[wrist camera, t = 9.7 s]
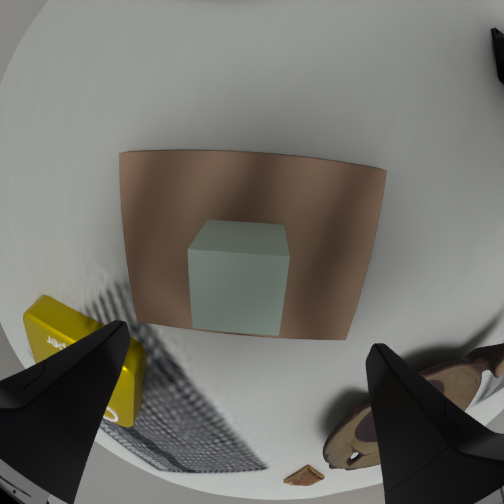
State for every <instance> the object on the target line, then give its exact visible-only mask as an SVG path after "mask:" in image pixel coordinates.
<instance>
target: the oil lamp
mask: <svg viewBox="0 0 504 504" xmlns="http://www.w3.org/2000/svg"><path fill="white" fill-rule="evenodd" d="M485 370H490V371H491V372H492V373H493V375H494V376H495V377H496V378H499V377H500V376H501V375H502V373H503V372H504V343H502V344H498V345H492V346H485V347H480V348H477V349H474V350H472V351H471V352H470V353H468V354H467V355H466V357H465V358H464V359H463V360H452V361H447V362H443V363H440V364H437V365H435V366H432V367H430V368H427V369H425V370H423V371H421V372H418V373H420V374H421V375H422V376H423V377H424V378H425V379H426V380H428V381H429V382H430V383H431V384H432V385H433V386H435V387H436V388H437V389H438V390H439V391H440V392H441V393H443V394H444V395H445V396H446V397H447V398H448V399H450V400H451V401H452V402H453V403H454V404H455V405H457V406H458V407H459V408H460V409H462V410H463V411H465V410H466V408H467V407H468V406H469V404H470V403H471V401H472V400H473V398H474V397H475V395H476V393H477V391H478V389H479V387H480V384H481V380H482V372H483V371H485ZM354 452H358V453H359V454H358V455H357V456H356V457H355V458H353V459H351V456H352V454H353V453H354ZM323 457H324V459H325V461H326V462H327V463H329V468H331V469H336V468H340V469H346V470H355V469H359V468H365V467H371V466H375V465H379V464H381V462H380V455H379V449H378V443H377V437H376V431H375V426H374V421H373V416H372V411H371V406H370V402H369V403H367V404H363V405H361V406H360V407H358V408H356V409H355V410H353V411H352V412H351V413H350V414H349V415H347V416H346V417H345V418H344V419H343V420H342V421H341V422H340V423H339V424H338V425H337V426H336V428H335V429H334V430H333V431H332V433H331V434H330V435H329V437H328V438H327V440H326V442H325V444H324V447H323Z"/></svg>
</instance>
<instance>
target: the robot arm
mask: <svg viewBox="0 0 504 504" xmlns="http://www.w3.org/2000/svg"><path fill="white" fill-rule="evenodd" d="M492 34H493V40H494V45H495V51H496V58H497V66H498V76H499V79H500V81H501V82H502V83H503V84H504V34H503V33H502V32H500V31H499V30H498V29H496V28H492ZM130 342H131V338H130V334H129V330H128V326H127V323H126V322H125V321H121V320H114V321H112V322H111V323H109V324H107V325H105V326H103V327H102V328H100V329H98V330H96V331H94V332H93V333H91V334H89V335H87V336H85V337H84V338H82V339H80V340H78V341H76V342H75V343H73V344H71V345H69V346H67V347H66V348H64V349H62V350H60V351H58V352H57V353H55V354H53V355H51V356H49V357H48V358H46V359H44V360H42V361H40V362H39V363H37V364H35V365H33V366H31V367H29V368H27V369H25V370H23V371H21V372H19V373H17V374H14V375H12V376H10V377H8V378H5V379H3V380H1V381H0V504H49V502H48V498H49V495H50V494H52V495H53V496H55V497H57V498H59V499H60V500H62V501H64V502H66V503H68V504H74V500H75V497H76V494H77V490H78V487H79V484H80V481H81V477H82V474H83V471H84V468H85V465H86V464H85V463H86V462H87V459H88V456H89V453H90V450H91V448H92V445H93V442H94V439H95V437H96V434H97V431H98V429H99V426H100V423H101V421H102V418H103V416H104V413H105V411H106V408H107V406H108V403H109V401H110V399H111V396H112V394H113V391H114V389H115V387H116V384H117V382H118V380H119V377H120V374H121V371H122V368H123V365H124V362H125V359H126V355H127V352H128V349H129V346H130ZM366 373H367V382H368V392H369V400H370V406H371V411H372V416H373V421H374V426H375V431H376V437H377V443H378V449H379V455H380V462H381V469H382V477H383V485H384V492H385V494H384V495H385V504H504V434H499V433H495V432H493V431H491V430H489V429H488V428H486V427H485V426H483V425H482V424H481V423H479V422H478V421H476V420H475V419H474V418H472V417H471V416H470V415H468V414H467V413H466V412H464V411H463V410H462V409H460V408H459V407H458V406H457V405H455V404H454V403H453V402H452V401H451V400H450V399H448V398H447V397H446V396H445V395H444V394H443V393H441V392H440V391H439V390H438V389H437V388H436V387H435V386H433V385H432V384H431V383H430V382H429V381H428V380H426V379H425V378H424V377H423V376H422V375H421V374H420V373H418V372H417V371H416V370H415V369H414V368H413V367H411V366H410V365H409V364H408V363H407V362H405V361H404V360H403V359H402V358H401V357H400V356H398V355H397V354H396V353H395V352H394V351H393V350H391V349H390V348H389V347H388V346H387V345H385V344H384V343H375V344H373V346H372V347H371V350H370V352H369V354H368V357H367V359H366Z"/></svg>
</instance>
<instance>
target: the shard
mask: <svg viewBox="0 0 504 504" xmlns="http://www.w3.org/2000/svg"><path fill="white" fill-rule="evenodd" d="M324 478H325V477H324V476H323V475H321V474H318V472H317V471H316V470H315V469H314V468H313V467H311V466H309V465H306V466H305V467H303V468H302V469H301V470H300V471H298V472H297V473H295V474H294V475H292V476H290V477H288V478H286V479H285V480H284V481H283V482H284V483H287V484H290V485H301V486H310V485H312V484H314V483H316V482H318V481H320V480H323V479H324Z"/></svg>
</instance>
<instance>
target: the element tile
mask: <svg viewBox="0 0 504 504" xmlns="http://www.w3.org/2000/svg"><path fill="white" fill-rule="evenodd" d="M23 322H24V326H25V330H26V333H27V337H28V341H29V344H30V347H31V350H32V354H33V357H34V360H35V363H36V364H37V363H39V362H40V361H42V360H44V359H46V358H48V357H49V356H51V355H53V354H55V353H57V352H58V351H60V350H62V349H64V348H66V347H67V346H69V345H71V344H73V343H75V342H76V341H78V340H80V339H82V338H84V337H85V336H87V335H89V334H91V333H93V332H94V331H96V330H98V329H100V328H102V327H103V326H105V325H104V324H101V323H99V322H97V321H95V320H93V319H91V318H89V317H87V316H85V315H83V314H81V313H79V312H77V311H75V310H73V309H72V308H70V307H68V306H66V305H64V304H62V303H61V302H59V301H57V300H55V299H53V298H52V297H50V296H46V295H43V296H42V297H40V298H39V299H38V300H37V301H36V302H35V303H34V304H33V305H32V306H31V307H30V308H29V309H28V310H27V311H26V312H25V313H24V314H23ZM130 338H131V342H130V346H129V349H128V352H127V355H126V359H125V362H124V365H123V368H122V371H121V374H120V377H119V380H118V382H117V384H116V387H115V389H114V391H113V394H112V396H111V399H110V401H109V403H108V406H107V408H106V411H105V413H104V416H103V418H105V419H107V420H110V421H112V422H114V423H117V424H119V425H121V426H124V427H131V426H133V424H134V422H135V420H136V417H137V415H138V412H139V410H140V407H141V405H142V394H143V384H144V374H145V366H146V357H147V356H146V352H145V349H144V347H143V346H142V345H141V344H140V343H139V342H138V341H137V340H135V339H134V338H132V337H130Z"/></svg>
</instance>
